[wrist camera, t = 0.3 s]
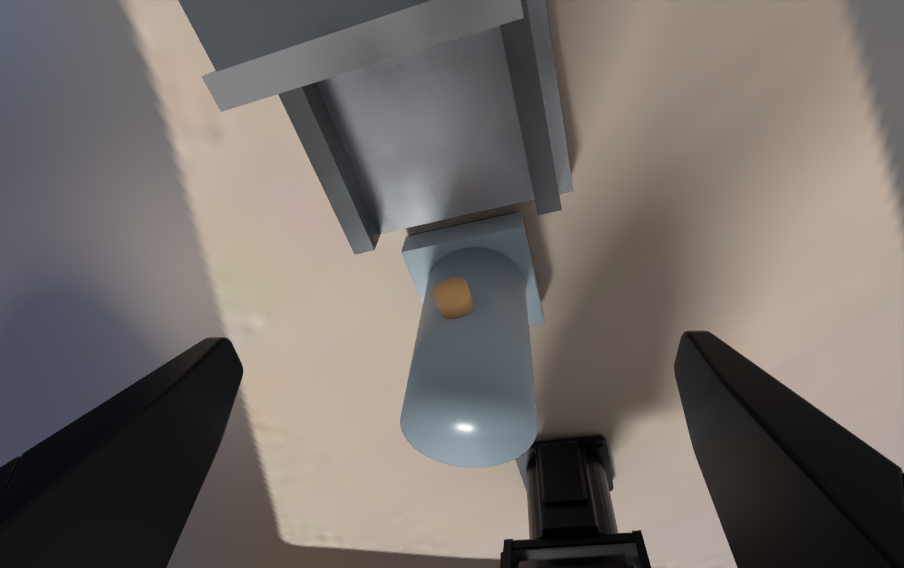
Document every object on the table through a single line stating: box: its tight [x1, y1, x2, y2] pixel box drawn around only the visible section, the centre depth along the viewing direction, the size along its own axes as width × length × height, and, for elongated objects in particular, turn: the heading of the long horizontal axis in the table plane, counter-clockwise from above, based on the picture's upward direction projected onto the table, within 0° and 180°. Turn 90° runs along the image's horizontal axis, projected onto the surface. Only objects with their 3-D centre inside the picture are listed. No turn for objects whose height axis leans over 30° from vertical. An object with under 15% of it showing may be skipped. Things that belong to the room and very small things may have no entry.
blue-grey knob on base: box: [400, 212, 544, 468], centre depth 21 cm, size 6×6×10 cm
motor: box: [179, 0, 574, 254], centre depth 16 cm, size 15×11×7 cm
